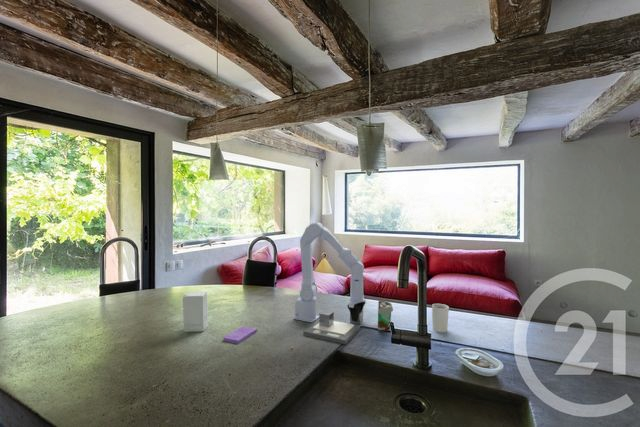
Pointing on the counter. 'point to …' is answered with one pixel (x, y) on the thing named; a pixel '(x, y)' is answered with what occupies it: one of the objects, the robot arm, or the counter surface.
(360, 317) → the block
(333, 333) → the kitchen scale
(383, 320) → the food container
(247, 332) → the sponges
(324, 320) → the block
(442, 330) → the white cup
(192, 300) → the skincare box
